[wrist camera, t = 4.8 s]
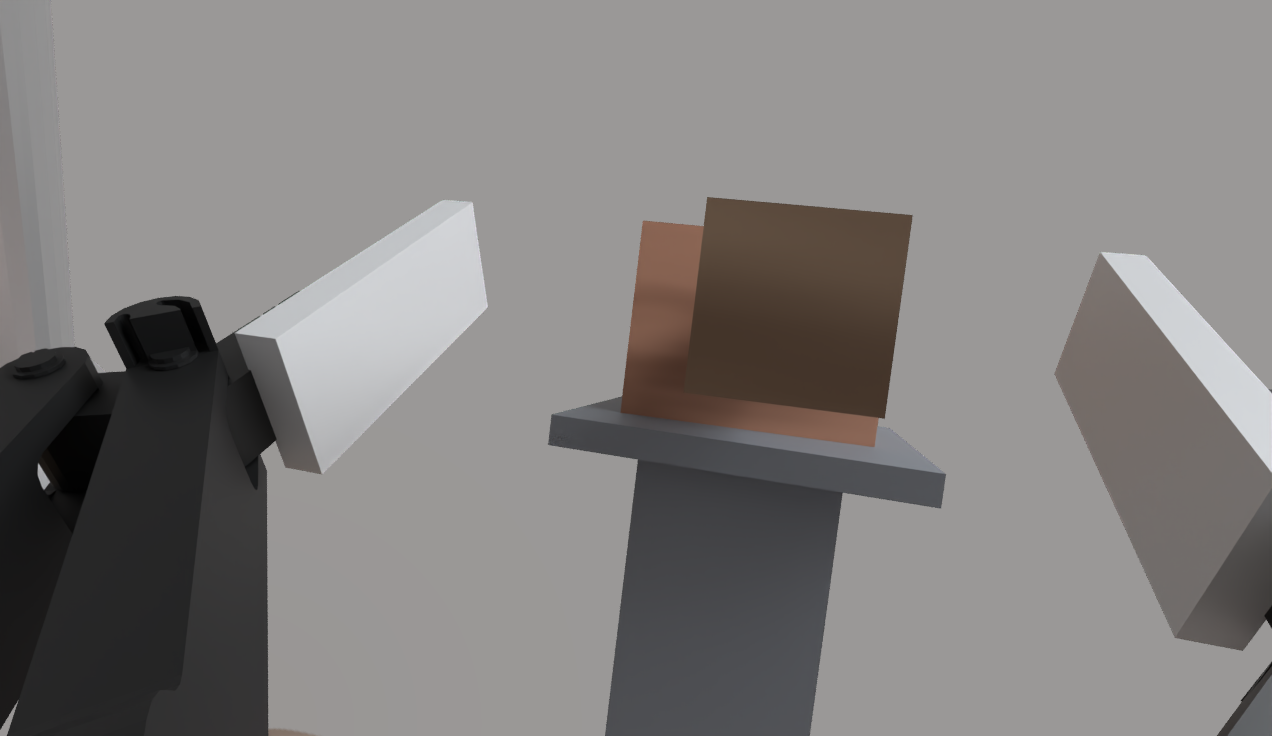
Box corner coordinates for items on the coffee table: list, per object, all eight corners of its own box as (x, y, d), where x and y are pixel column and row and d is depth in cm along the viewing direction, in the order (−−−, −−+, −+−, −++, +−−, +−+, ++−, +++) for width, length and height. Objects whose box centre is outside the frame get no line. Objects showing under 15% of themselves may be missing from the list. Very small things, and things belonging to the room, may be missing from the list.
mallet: (1158, 658, 8) (1259, 29, 7) (414, 532, 9) (470, -9, 9) (843, 423, 30) (864, 268, 30) (645, 397, 32) (663, 247, 31)
